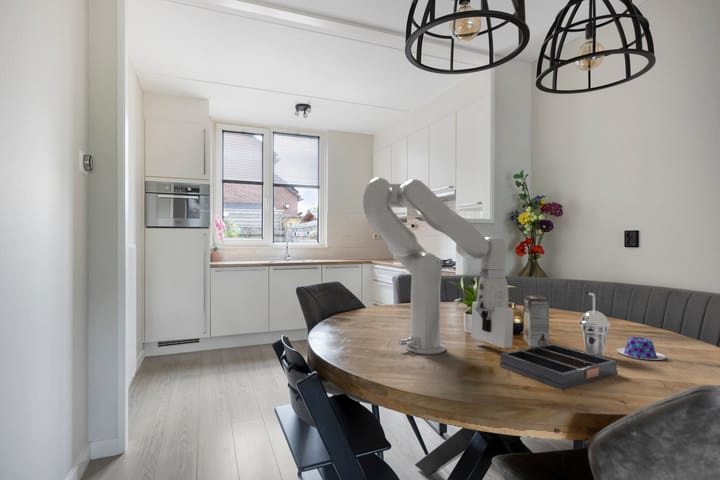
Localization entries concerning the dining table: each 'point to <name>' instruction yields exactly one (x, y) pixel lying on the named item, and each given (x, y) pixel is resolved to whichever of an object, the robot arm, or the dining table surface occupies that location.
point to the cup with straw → (594, 330)
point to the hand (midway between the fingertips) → (491, 330)
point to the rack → (558, 365)
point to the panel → (494, 326)
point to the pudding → (640, 349)
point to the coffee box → (536, 320)
